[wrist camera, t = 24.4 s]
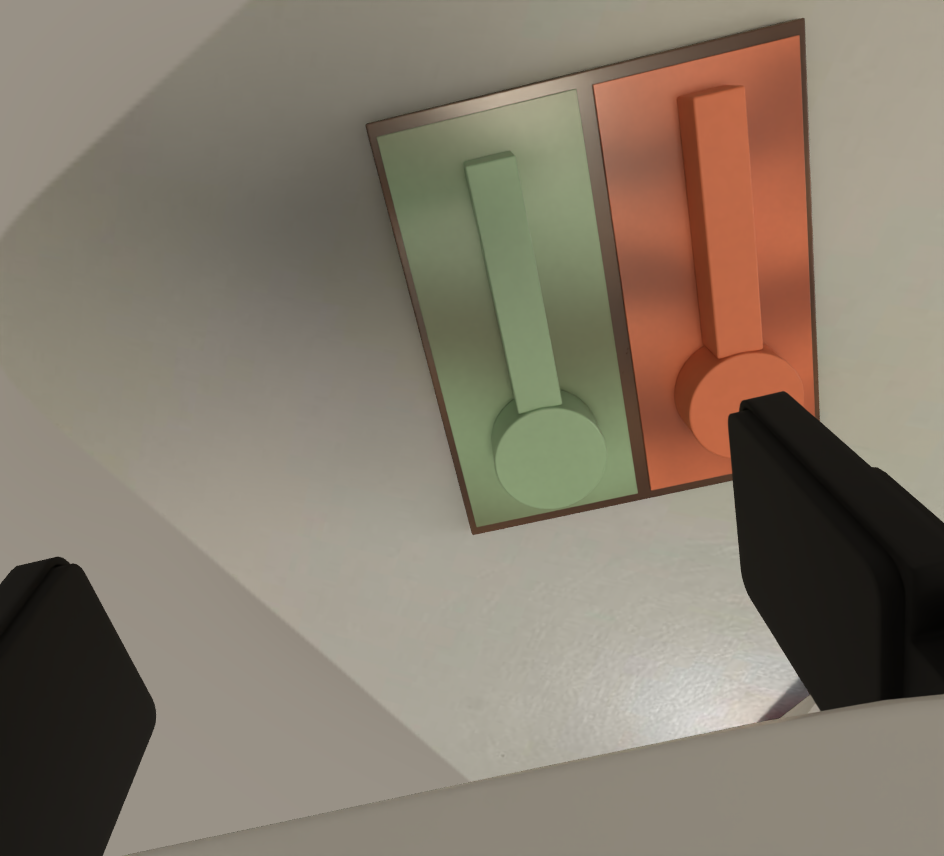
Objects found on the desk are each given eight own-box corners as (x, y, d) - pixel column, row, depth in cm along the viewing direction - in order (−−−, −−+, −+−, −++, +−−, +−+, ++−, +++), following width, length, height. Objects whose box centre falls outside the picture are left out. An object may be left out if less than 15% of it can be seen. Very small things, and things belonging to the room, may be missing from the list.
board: (366, 123, 29) (364, 124, 28) (798, 18, 28) (807, 16, 27) (471, 528, 36) (472, 537, 35) (815, 456, 35) (823, 464, 34)
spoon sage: (426, 170, 29) (425, 176, 27) (548, 140, 28) (556, 145, 26) (503, 494, 34) (507, 519, 32) (605, 472, 34) (615, 497, 32)
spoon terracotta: (637, 105, 28) (653, 107, 26) (764, 74, 28) (789, 74, 26) (680, 447, 34) (695, 470, 32) (785, 424, 34) (807, 446, 32)
